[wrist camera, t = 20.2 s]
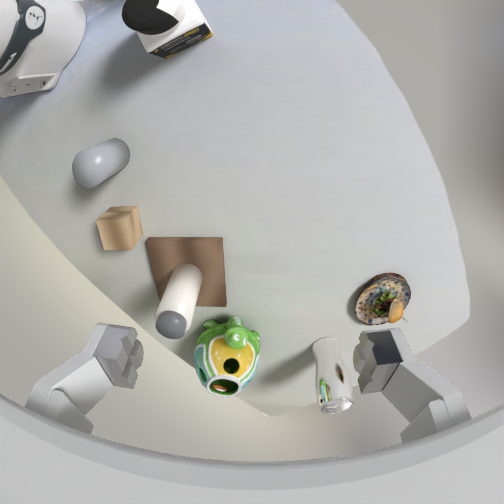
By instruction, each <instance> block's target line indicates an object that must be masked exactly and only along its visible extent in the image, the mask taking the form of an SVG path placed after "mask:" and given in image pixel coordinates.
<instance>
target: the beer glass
mask: <svg viewBox="0 0 504 504" xmlns="http://www.w3.org/2000/svg"><path fill="white" fill-rule="evenodd" d="M312 352H313V355H314V357H315V361H316V375H315V389H316V396H317V401H318V405H319V410H320V412H321V413H323V414H338V413H341V412H344V411H347V410H348V409H350V408H351V407H352V406H353V405H354V404H355V401H354V393H353V387H352V382H351V379H350V376H349V373H348V371H347V369H346V367H345V365H344V363H343V360H342V358H341V355H340V343H339V341H338V340H337V339H336V338H333V337H325V338H322V339H319V340H317V341H316V342H315V343H314V344H313V345H312Z"/></svg>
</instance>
